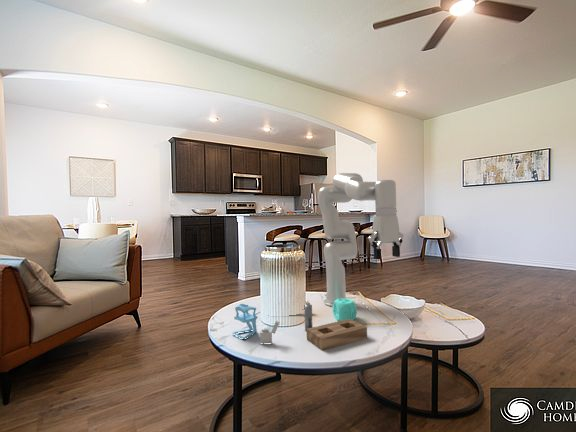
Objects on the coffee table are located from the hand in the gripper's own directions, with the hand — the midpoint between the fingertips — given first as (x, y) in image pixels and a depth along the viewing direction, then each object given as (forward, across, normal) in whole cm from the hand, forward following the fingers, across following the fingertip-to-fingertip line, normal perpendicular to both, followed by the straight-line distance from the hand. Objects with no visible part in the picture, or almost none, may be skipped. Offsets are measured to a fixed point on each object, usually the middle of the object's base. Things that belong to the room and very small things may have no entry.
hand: (387, 257), depth 113 cm
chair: (+29, +47, -28) cm, 62 cm away
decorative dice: (+29, +4, -21) cm, 36 cm away
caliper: (+30, +22, -40) cm, 54 cm away
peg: (+29, +24, -19) cm, 42 cm away
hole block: (+29, +20, -7) cm, 36 cm away
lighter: (+29, +42, -16) cm, 54 cm away
